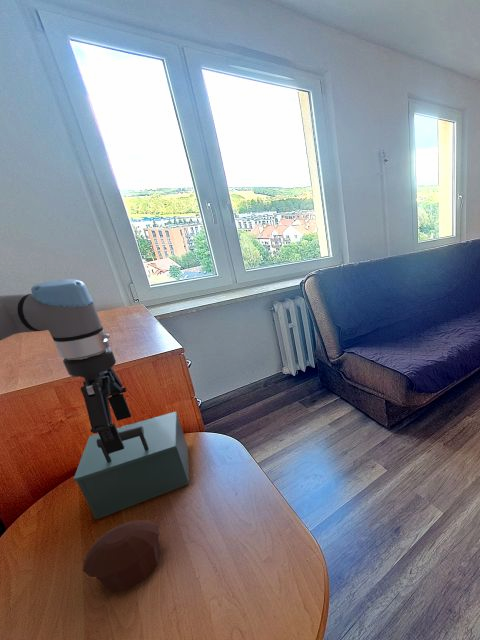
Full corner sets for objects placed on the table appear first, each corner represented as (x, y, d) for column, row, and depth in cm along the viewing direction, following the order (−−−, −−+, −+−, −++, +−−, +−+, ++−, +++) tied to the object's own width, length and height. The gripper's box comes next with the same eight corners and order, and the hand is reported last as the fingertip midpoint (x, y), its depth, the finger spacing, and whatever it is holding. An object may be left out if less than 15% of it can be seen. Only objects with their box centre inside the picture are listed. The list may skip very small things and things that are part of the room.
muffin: (173, 533, 76) (161, 501, 73) (161, 581, 67) (146, 547, 63) (106, 556, 71) (90, 523, 68) (84, 611, 62) (63, 576, 59)
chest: (189, 483, 89) (176, 446, 85) (95, 519, 79) (75, 479, 75) (188, 448, 102) (177, 413, 97) (107, 475, 92) (90, 438, 87)
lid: (176, 448, 84) (168, 424, 81) (74, 482, 74) (61, 455, 71) (177, 413, 97) (170, 391, 94) (90, 438, 87) (79, 414, 84)
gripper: (99, 372, 63) (135, 459, 71) (118, 330, 82) (145, 402, 90) (42, 384, 59) (87, 475, 67) (77, 337, 78) (108, 411, 86)
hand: (120, 433), depth 78 cm, fingers open, 13 cm apart
